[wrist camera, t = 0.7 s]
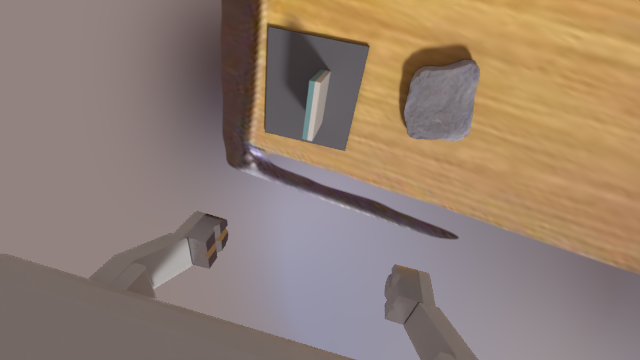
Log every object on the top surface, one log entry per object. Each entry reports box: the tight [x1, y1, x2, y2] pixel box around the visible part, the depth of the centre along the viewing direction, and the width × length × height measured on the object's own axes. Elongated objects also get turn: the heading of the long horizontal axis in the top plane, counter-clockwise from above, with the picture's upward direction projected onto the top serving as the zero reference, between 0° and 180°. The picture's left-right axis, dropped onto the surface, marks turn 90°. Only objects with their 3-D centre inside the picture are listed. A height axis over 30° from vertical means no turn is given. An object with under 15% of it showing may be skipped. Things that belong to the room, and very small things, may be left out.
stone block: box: [404, 59, 480, 141], centre depth 41 cm, size 12×5×10 cm
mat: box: [265, 27, 369, 151], centre depth 45 cm, size 18×16×1 cm
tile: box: [302, 69, 331, 141], centre depth 41 cm, size 9×2×8 cm, turn 171°
